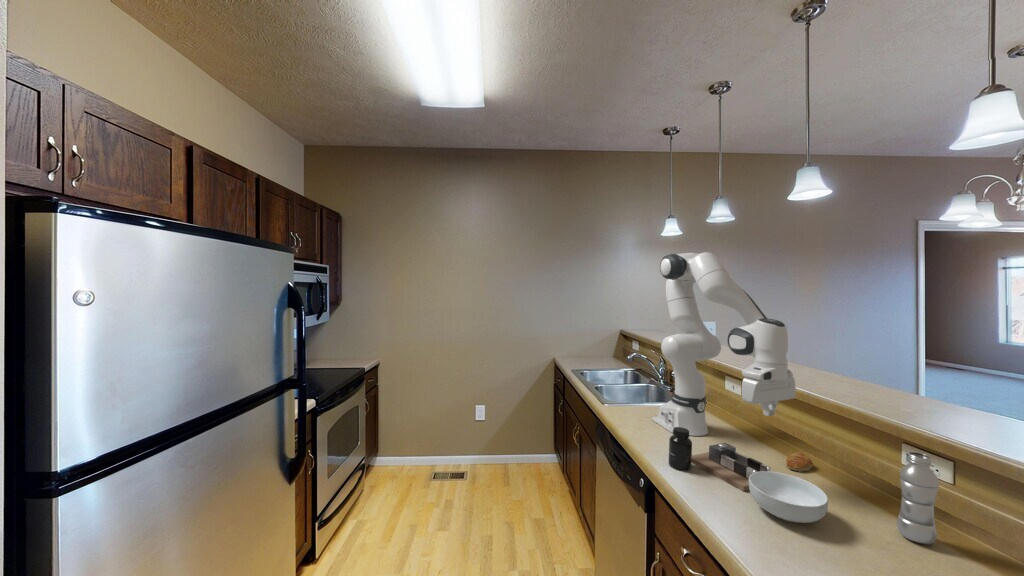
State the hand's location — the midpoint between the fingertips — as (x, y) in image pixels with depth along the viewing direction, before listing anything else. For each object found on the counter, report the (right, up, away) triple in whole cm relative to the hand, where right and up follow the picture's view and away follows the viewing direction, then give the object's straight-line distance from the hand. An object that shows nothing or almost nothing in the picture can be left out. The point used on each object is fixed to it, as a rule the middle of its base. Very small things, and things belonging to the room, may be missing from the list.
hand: (768, 415), depth 121 cm
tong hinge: (-12, -17, +6) cm, 21 cm away
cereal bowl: (-9, -19, -21) cm, 30 cm away
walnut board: (-11, -18, +2) cm, 21 cm away
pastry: (+14, -19, +6) cm, 24 cm away
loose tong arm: (-6, -17, -1) cm, 18 cm away
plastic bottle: (+15, -20, -30) cm, 39 cm away
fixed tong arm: (-11, -17, -3) cm, 20 cm away
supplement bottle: (-26, -18, +4) cm, 32 cm away
